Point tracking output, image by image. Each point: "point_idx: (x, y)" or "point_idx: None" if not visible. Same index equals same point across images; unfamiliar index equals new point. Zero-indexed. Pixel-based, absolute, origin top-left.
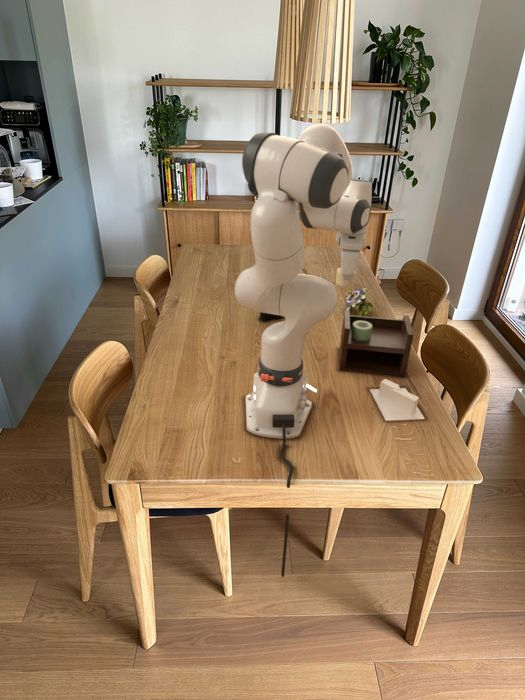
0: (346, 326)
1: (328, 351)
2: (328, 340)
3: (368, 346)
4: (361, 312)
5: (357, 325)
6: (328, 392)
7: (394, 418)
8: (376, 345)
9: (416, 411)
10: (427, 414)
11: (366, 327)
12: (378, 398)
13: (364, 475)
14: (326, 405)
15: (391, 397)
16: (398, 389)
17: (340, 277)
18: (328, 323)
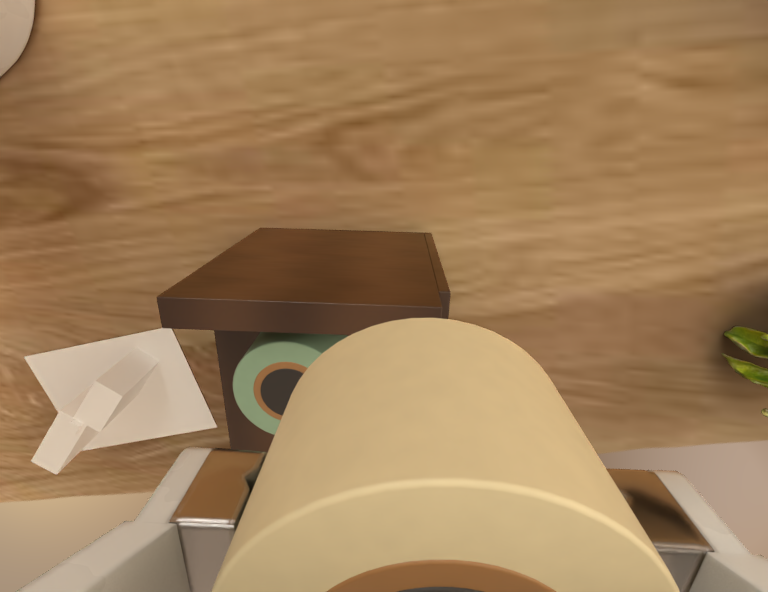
0: (188, 308)
1: (406, 184)
2: (507, 185)
3: (222, 378)
4: (751, 347)
5: (270, 366)
6: (96, 183)
7: (46, 380)
8: (232, 412)
9: (107, 437)
10: (106, 459)
11: (261, 409)
12: (128, 348)
13: None
14: (13, 175)
15: (81, 393)
16: (66, 428)
17: (275, 460)
18: (685, 185)
